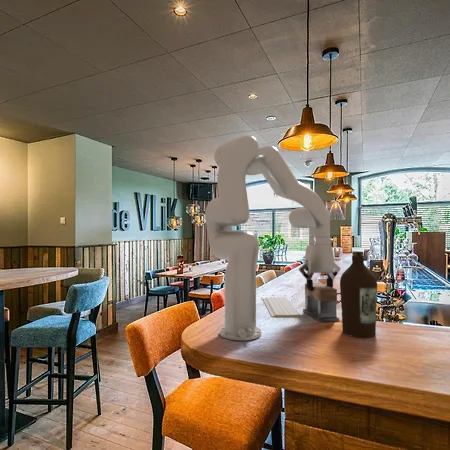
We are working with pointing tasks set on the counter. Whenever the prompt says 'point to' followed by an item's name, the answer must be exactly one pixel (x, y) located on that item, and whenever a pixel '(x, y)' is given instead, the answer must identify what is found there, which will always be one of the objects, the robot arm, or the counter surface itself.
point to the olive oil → (358, 299)
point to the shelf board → (322, 292)
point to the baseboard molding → (280, 307)
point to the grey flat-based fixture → (320, 309)
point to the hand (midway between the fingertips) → (319, 289)
